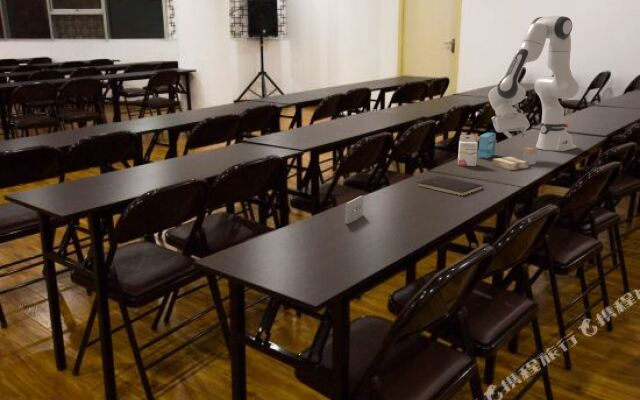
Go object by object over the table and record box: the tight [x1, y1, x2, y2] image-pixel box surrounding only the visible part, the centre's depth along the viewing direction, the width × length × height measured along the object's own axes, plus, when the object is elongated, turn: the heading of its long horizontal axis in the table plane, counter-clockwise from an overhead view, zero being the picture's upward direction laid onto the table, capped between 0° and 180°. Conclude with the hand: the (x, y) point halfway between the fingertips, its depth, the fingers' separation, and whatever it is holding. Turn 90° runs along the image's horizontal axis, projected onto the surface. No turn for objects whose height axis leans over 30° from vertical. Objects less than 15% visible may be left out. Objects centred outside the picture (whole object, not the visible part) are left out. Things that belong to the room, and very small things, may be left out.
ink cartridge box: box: [457, 134, 479, 167], centre depth 291 cm, size 9×5×15 cm, turn 84°
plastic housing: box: [522, 146, 538, 166], centre depth 293 cm, size 5×4×8 cm
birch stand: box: [491, 156, 530, 171], centre depth 289 cm, size 12×12×3 cm
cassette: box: [344, 195, 364, 225], centre depth 215 cm, size 12×2×8 cm, turn 147°
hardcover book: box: [417, 175, 484, 197], centre depth 255 cm, size 16×23×2 cm
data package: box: [478, 132, 497, 160], centre depth 308 cm, size 12×4×12 cm, turn 144°
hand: (517, 136), depth 298 cm, fingers open, 8 cm apart
